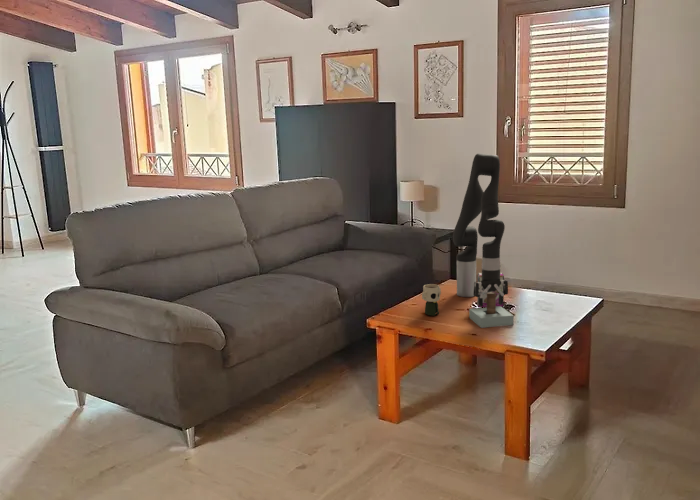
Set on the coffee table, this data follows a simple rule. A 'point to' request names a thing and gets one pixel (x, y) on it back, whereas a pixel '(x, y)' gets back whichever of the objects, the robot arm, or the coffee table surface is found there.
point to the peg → (491, 303)
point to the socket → (491, 317)
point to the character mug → (431, 298)
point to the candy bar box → (490, 292)
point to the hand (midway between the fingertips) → (490, 305)
